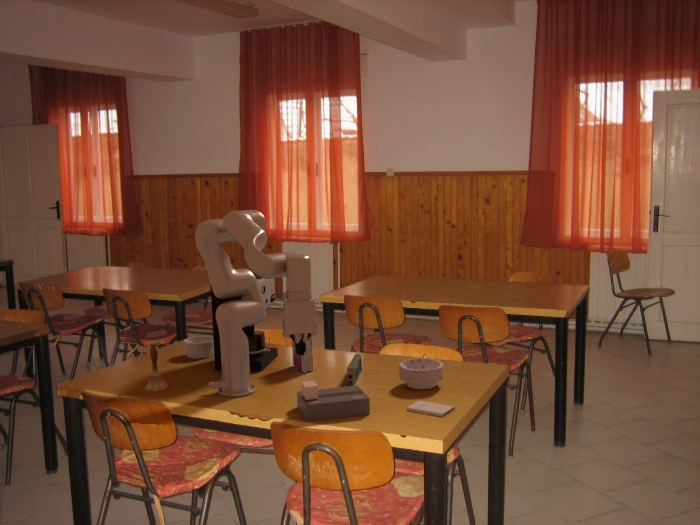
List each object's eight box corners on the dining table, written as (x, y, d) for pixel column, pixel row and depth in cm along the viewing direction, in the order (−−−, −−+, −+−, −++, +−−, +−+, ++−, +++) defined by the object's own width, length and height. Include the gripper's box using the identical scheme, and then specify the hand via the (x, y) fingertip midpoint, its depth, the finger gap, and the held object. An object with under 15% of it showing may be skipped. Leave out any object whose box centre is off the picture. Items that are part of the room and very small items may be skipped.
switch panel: (305, 421, 206) (305, 405, 206) (297, 407, 220) (296, 391, 219) (369, 414, 211) (369, 397, 211) (357, 400, 225) (357, 385, 224)
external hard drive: (443, 419, 207) (406, 412, 214) (455, 411, 214) (419, 404, 221) (442, 413, 207) (406, 406, 214) (455, 406, 213) (419, 399, 220)
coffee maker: (260, 374, 258) (256, 282, 254) (210, 374, 261) (205, 282, 257) (279, 355, 285) (276, 271, 281) (234, 355, 288) (230, 272, 284)
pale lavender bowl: (419, 395, 228) (419, 372, 227) (390, 385, 240) (390, 363, 239) (453, 386, 237) (452, 363, 236) (423, 377, 249) (422, 355, 248)
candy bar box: (292, 366, 269) (290, 324, 267) (304, 364, 271) (302, 323, 269) (301, 373, 258) (299, 330, 256) (313, 371, 260) (312, 328, 258)
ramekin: (212, 359, 282) (211, 343, 282) (180, 360, 283) (179, 343, 282) (219, 351, 296) (218, 335, 295) (188, 352, 296) (188, 336, 295)
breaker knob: (305, 400, 210) (305, 387, 209) (302, 394, 215) (301, 381, 215) (318, 398, 211) (318, 385, 210) (314, 392, 216) (314, 380, 216)
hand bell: (144, 393, 239) (141, 348, 238) (144, 386, 247) (141, 342, 246) (168, 390, 242) (166, 345, 240) (168, 383, 250) (165, 340, 248)
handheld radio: (363, 370, 260) (353, 390, 236) (354, 370, 261) (344, 390, 236) (362, 353, 260) (352, 371, 235) (353, 353, 260) (342, 371, 236)
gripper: (277, 299, 203) (279, 360, 205) (326, 296, 207) (327, 355, 210) (272, 295, 210) (274, 354, 213) (320, 292, 214) (321, 349, 217)
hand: (300, 354), depth 211 cm, fingers closed
